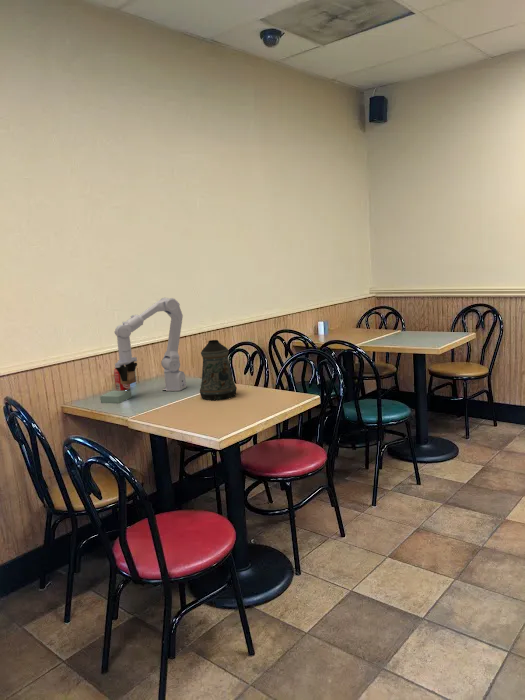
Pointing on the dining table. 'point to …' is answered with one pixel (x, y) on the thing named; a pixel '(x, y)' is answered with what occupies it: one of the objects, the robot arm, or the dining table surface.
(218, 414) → the dining table surface
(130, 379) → the walnut block
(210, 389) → the beer stein
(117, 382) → the soda can
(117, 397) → the sage green base
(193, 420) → the dining table surface
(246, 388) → the dining table surface
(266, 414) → the dining table surface
